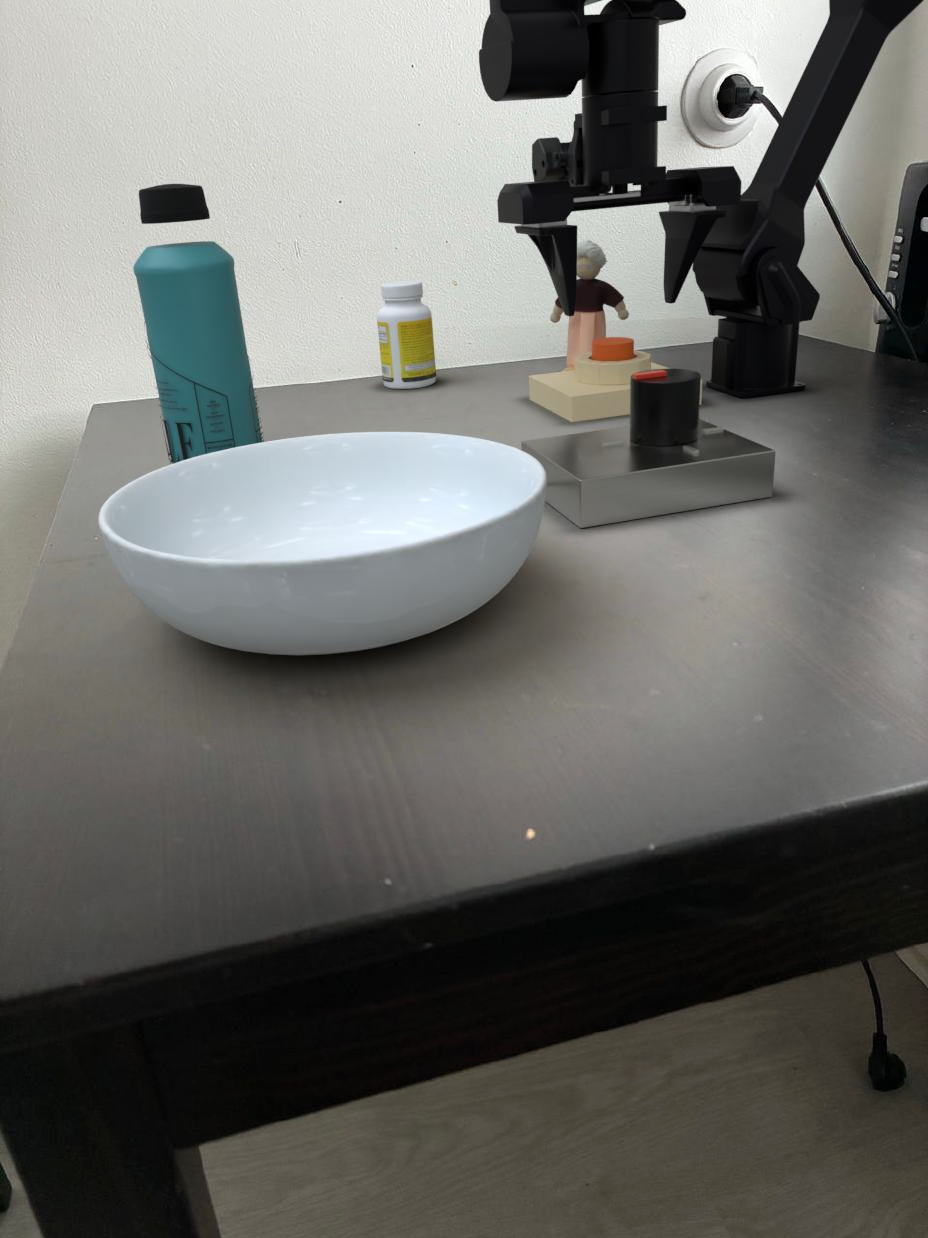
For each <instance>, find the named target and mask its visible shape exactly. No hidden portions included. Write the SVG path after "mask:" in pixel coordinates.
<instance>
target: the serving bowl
mask: <svg viewBox="0 0 928 1238" xmlns="http://www.w3.org/2000/svg"><path fill="white" fill-rule="evenodd" d="M546 488H547V475H546V471H545V469H544V467H543V466H542V465H541V463H540V462H539V461H538V460H537V459H535V458H534V457H533V456H531V455H530V454H528V453H526V452H524V451H521V449H519V448H517V447H515V446H512V445H508V444H505V443H501V442H497V441H494V440H488V439H485V438H479V437H474V436H468V435H467V436H466V435H460V434H459V435H458V434H448V433H439V432H422V431H417V432H416V431H364V432H363V431H361V432H359V431H358V432H357V431H356V432H344V433H343V432H339V433H326V434H315V435H303V436H297V437H289V438H282V439H281V438H279V439H275V440H269V441H263V442H262V443H256V444H251V445H245V446H240V447H235V448H230V449H226V450H221V451H217V452H213V453H209V454H204V455H200V456H197V457H193V458H190V459H186V460H183V461H180V462H177V463H174V464H172V463H171V464H168V465H165V466H163V467H160V468H157V469H155V470H153V471H150V472H148V473H146V474H144V475H142V476H140V477H138V478H136V479H134V480H132V481H130V482H129V483H126V484H125V485H124V486H122V487H120V488H119V489H118V490H116V491H115V492H114V493H112V494H111V495H109V497H108V498H107V499H106V501H104V503H103V505H102V506H101V508H100V510H99V513H98V518H97V523H98V528H99V531H100V534H101V536H102V539H103V542H104V544H105V547H106V549H107V552H108V555H109V557H110V559H111V561H112V564H113V566H114V568H115V570H116V571H117V573H118V575H119V577H120V578H121V580H122V582H123V583H124V584H125V585H126V587H127V588H128V590H129V591H130V592H131V593H132V595H133V596H134V597H135V598H136V599H137V600H138V601H139V602H140V603H141V604H142V605H143V606H144V607H145V608H146V609H147V610H148V611H150V612H151V613H152V614H153V615H155V616H156V617H157V618H159V619H160V620H161V621H163V622H165V623H166V624H167V625H169V626H171V627H172V628H174V629H176V630H178V631H180V632H182V633H184V634H186V635H187V636H189V637H193V638H195V639H198V640H200V641H203V642H206V643H209V644H212V645H214V646H215V645H216V646H219V647H223V648H227V649H232V650H237V651H243V652H248V653H257V654H266V655H278V656H280V655H283V656H312V655H315V656H316V655H332V654H340V653H350V652H359V651H364V650H365V651H366V650H369V649H370V650H371V649H375V648H382V647H385V646H389V645H390V646H391V645H393V644H397V643H401V642H405V641H408V640H413V639H415V638H418V637H421V636H424V635H427V634H430V633H433V632H435V631H437V630H440V629H442V628H444V627H446V626H449V625H451V624H454V623H455V622H457V621H459V620H462V619H463V618H465V617H466V616H468V615H470V614H472V613H474V612H475V611H477V610H478V609H480V608H481V607H482V606H483V605H485V604H486V603H488V602H489V601H490V600H491V599H494V597H495V596H497V595H498V594H499V593H500V592H501V591H502V590H503V589H504V588H505V587H506V586H507V585H508V584H509V583H510V582H511V581H512V579H513V578H514V577H515V576H516V575H517V573H518V572H519V570H520V569H521V567H522V566H523V564H524V563H525V562H526V560H527V558H528V556H529V555H530V553H531V551H532V549H533V547H534V544H535V542H536V540H537V538H538V534H539V532H540V527H541V524H542V520H543V514H544V510H545V503H546V501H545V496H546Z"/></svg>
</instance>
